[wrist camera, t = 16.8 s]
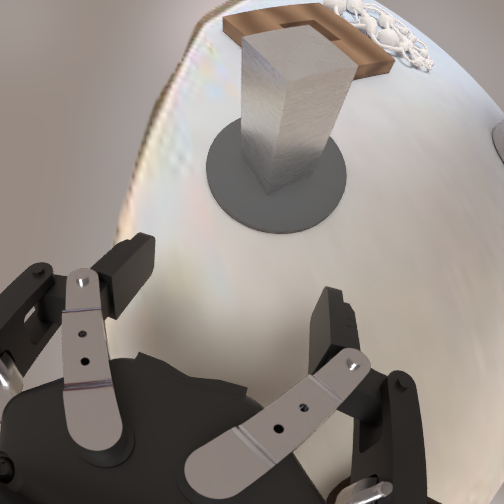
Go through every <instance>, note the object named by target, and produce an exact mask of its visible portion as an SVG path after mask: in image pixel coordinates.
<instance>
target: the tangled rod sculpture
mask: <svg viewBox="0 0 504 504" xmlns="http://www.w3.org/2000/svg"><path fill="white" fill-rule="evenodd" d="M323 5H324V6H325V7H327V8H328V9H330V10H331V11H333V12H334V13H336V14H337V15H339V14H342V13H344V11H345V10H346V8H347V9H348V10H349V11H350V12H351V13H353V14H355V15H356V19H355V22H358V23H359V22H360V24H352V23H350V24H352V25H353V26H354V27H356V28H364V29H365V30H366V32H367V34H368V35H369V36H370V37H371V39H372V40H373V41H374V42H375V43H376V44H377V45H379V46H380V47H381V48H383V49H387V50H391V51H396V52H402V54H403V56H404V58H405V59H406V60H407V61H409V62H411V63H413V64H414V65H415V66H417V67H421V66H424V67H425V68H427V69H429V70H431V67H432V65H434V62H433V61H432V59H431V58H430V57H429V56H428V48H427V46H426V45H425V44H424V43H423V42H422V41H420V40H418V39H416V37H415V36H414V35H413V34H412V33H411V31H410V30H409V29H408V28H407V27H406V26H405V25H404V24H403V23H401V22H400V21H399V20H397V19H396V18H394V17H393V16H392V15H391V14H390V13H388V12H387V11H386V10H384V9H383V8H381V7H379V6H377V5H375V4H363V2H362V0H347V2H346V3H345V1H344V0H323ZM370 6H375V7H377V8H379V9H381V10H382V11H384V12H385V13H386V14H384V13H383V12H382V11H381V10H379V9H377V8H374V7H370ZM364 9H369V10H373V11H375V12H377V13H379V14H380V16H379V19H378V21H379V24H380V25H381V26H382V27H383V28H385V29H382V30H381V31H380V32H379V33H378V39H379V41H378V40H377V39H376V37H375V34H376V33H377V30H378V24H377V21H376V19H374V18H373V17H371V16H369V15H368V14H367V12H366V11H365V10H364ZM357 14H361V15H362V18H361V19H360V21H359V20H358V15H357ZM339 16H340V15H339ZM340 17H341V16H340ZM395 22H398V23H399V24H401V25H402V26H403V27H399V26H398V25H396V24H395ZM392 28H393V29H394V30H395V31H394V30H392ZM398 29H399V31H398ZM408 32H409V33H410V34H409V35H408ZM398 35H399V36H398ZM406 35H408V36H407V37H405V36H406ZM416 41H418V42H420V43H421V44H423V45H424V47H425V49H419V48H418V47H416V46H414V44H413V43H415V42H416ZM396 46H397V47H396ZM414 49H415V50H417V51H419V53H418V52H417V51H415V50H414ZM406 51H409V52H410V54H411V56H412V57H413V59H412V60H410V59H409V58H408V57H407V56H406V55H405V52H406ZM415 55H416V56H415ZM424 58H426V59H424ZM427 58H428V59H427Z"/></svg>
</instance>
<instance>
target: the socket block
mask: <svg viewBox="0 0 504 504" xmlns="http://www.w3.org/2000/svg"><path fill="white" fill-rule="evenodd" d="M304 25H310V26H311V27H313V28H314V29H315V30H316V31H318V32H319V33H320V34H322V35H323V36H324V37H325V38H327V39H328V40H329V41H330V42H332V43H333V44H334V45H335V46H337V47H338V48H339V49H340V50H341V51H342V52H344V53H345V54H346V55H347V56H348V57H349V58H350V59H352V60H353V61H354V62H355V63H356V64H357V65H358V68H357V71H356V73H355V76H354V78H353V80H356V79H360V78H365V77H370V76H375V75H380V74H385V73H389V72H390V70H391V68H392V66H393V64H394V62H395V59H394V58H393V57H391V56H390V55H389V54H388V53H387V52H386V51H385V50H383V49H382V48H381V47H380V46H379V45H377V44H376V43H375V42H374V41H373V40H371V39H370V38H369V37H367V36H366V35H365V34H364V33H362V32H361V31H360V30H358V29H357V28H356V27H354V26H353V25H352V24H350V23H349V22H347V21H346V20H345V19H343V18H342V17H340V16H339V15H337V14H336V13H334V12H333V11H331V10H330V9H328V8H327V7H325V6H324V5H322V4H320V3H309V4H297V5H287V6H279V7H272V8H265V9H259V10H253V11H248V12H243V13H238V14H233V15H229V16H225V17H223V32H225V33H226V34H227V35H228V36H229V37H230V38H231V39H233V40H234V41H235V42H236V43H237V44H238V45H239V46H240V47H241V48H242V37H244V36H248V35H253V34H257V33H262V32H267V31H272V30H278V29H284V28H290V27H297V26H304Z"/></svg>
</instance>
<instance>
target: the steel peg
mask: <svg viewBox="0 0 504 504" xmlns="http://www.w3.org/2000/svg"><path fill="white" fill-rule="evenodd" d="M357 68H358V65H357V64H356V63H355V62H354V61H353V60H352V59H350V58H349V57H348V56H347V55H346V54H345V53H344V52H342V51H341V50H340V49H339V48H338V47H337V46H335V45H334V44H333V43H332V42H330V41H329V40H328V39H327V38H325V37H324V36H323V35H322V34H320V33H319V32H318V31H316V30H315V29H314V28H313V27H311V26H310V25H304V26H297V27H290V28H284V29H278V30H272V31H267V32H262V33H257V34H253V35H248V36H244V37H242V75H241V155H242V157H243V158H244V160H245V161H246V163H247V165H248V166H249V168H250V169H251V171H252V172H253V174H254V175H255V177H256V179H257V180H258V182H259V183H260V185H261V186H262V188H263V190H264V191H265V193H266V194H267V195H269V194H272V193H274V192H276V191H278V190H280V189H282V188H284V187H286V186H289V185H291V184H293V183H295V182H297V181H300V180H302V179H304V178H306V177H308V176H311V175H313V173H314V170H315V168H316V166H317V163H318V161H319V159H320V156H321V154H322V152H323V150H324V147H325V145H326V143H327V140H328V138H329V136H330V133H331V131H332V129H333V126H334V124H335V121H336V119H337V117H338V114H339V112H340V110H341V107H342V105H343V102H344V100H345V98H346V95H347V93H348V90H349V88H350V85H351V83H352V81H353V78H354V76H355V73H356V71H357Z"/></svg>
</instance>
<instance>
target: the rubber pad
mask: <svg viewBox="0 0 504 504" xmlns="http://www.w3.org/2000/svg"><path fill="white" fill-rule="evenodd" d="M206 171H207V178H208V183H209V186H210V189H211V192H212V194H213V196H214V198H215V199H216V201H217V202H218V204H219V205H220V206H221V207H222V209H223V210H224V211H225V212H226V213H227V214H229V215H230V216H231V217H232V218H233V219H235V220H237V221H238V222H240V223H241V224H243V225H245V226H248V227H250V228H253V229H255V230H258V231H263V232H267V233H277V234H283V233H293V232H299V231H302V230H306V229H308V228H310V227H313V226H315V225H317V224H318V223H320V222H321V221H323V220H324V219H325V218H326V217H327V216H328V215H329V214H330V213H331V212H332V211H333V210H334V209H335V207H336V206H337V204H338V203H339V201H340V199H341V198H342V195H343V193H344V190H345V185H346V166H345V162H344V159H343V156H342V154H341V152H340V150H339V148H338V146H337V145H336V143H335V142H334V141H333V139H332V138H331V137H330V136H329V138H328V140H327V143H326V145H325V147H324V150H323V152H322V154H321V156H320V159H319V161H318V163H317V166H316V168H315V170H314V173H313V175H311V176H308V177H306V178H304V179H302V180H300V181H297V182H295V183H293V184H291V185H289V186H286V187H284V188H282V189H280V190H278V191H276V192H274V193H272V194H269V195H267V194H266V193H265V191H264V190H263V188H262V186H261V185H260V183H259V182H258V180H257V179H256V177H255V175H254V174H253V172H252V171H251V169H250V168H249V166H248V165H247V163H246V161H245V160H244V158H243V157H242V155H241V118H239V119H237V120H235V121H234V122H232V123H230V124H229V125H228V126H226V127H225V128H224V129H223V130H222V131H221V132H220V133H219V134H218V135H217V137H216V138H215V139H214V141H213V143H212V145H211V147H210V149H209V152H208V156H207V161H206Z"/></svg>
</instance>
